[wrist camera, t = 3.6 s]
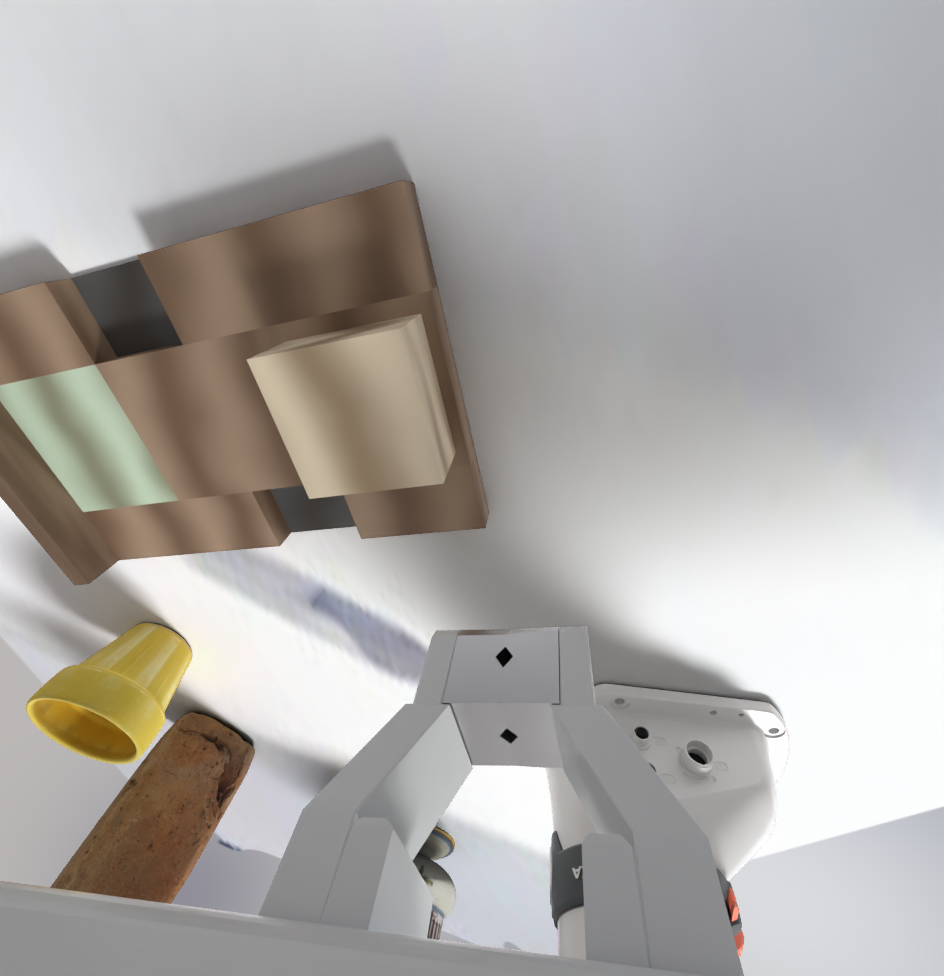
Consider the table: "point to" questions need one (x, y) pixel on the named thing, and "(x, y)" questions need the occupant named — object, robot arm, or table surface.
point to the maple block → (359, 408)
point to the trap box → (210, 388)
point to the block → (162, 814)
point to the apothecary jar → (437, 878)
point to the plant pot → (114, 695)
